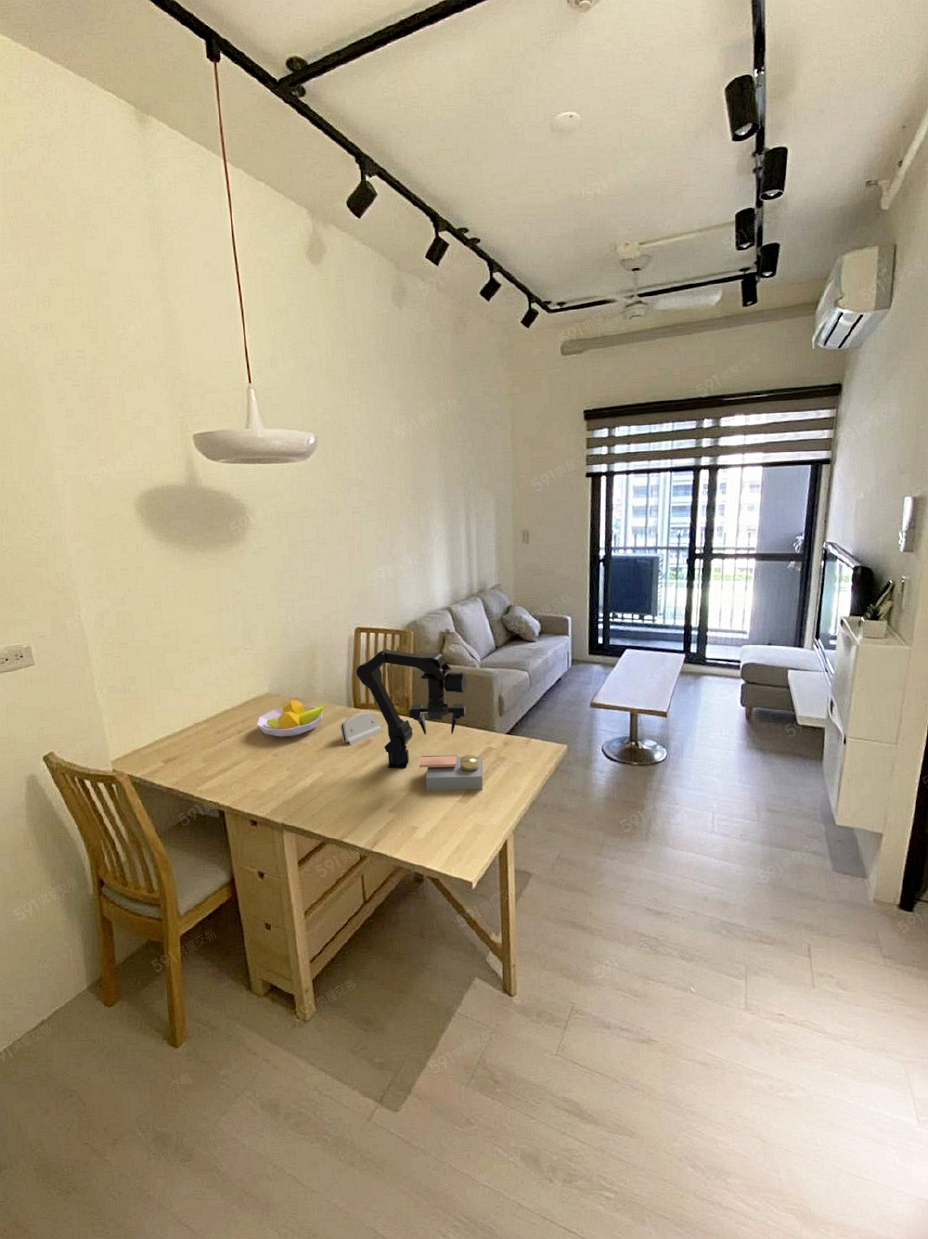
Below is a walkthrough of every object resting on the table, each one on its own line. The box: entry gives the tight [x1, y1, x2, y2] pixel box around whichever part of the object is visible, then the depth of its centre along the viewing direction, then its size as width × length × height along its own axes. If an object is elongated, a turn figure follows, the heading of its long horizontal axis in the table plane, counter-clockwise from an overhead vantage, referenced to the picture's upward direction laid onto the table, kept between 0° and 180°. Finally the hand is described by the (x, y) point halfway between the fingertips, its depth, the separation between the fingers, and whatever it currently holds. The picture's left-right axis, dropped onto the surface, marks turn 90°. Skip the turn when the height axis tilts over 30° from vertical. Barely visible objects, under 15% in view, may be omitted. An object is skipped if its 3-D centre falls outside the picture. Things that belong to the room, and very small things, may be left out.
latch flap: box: [418, 754, 458, 768], centre depth 185 cm, size 12×1×9 cm
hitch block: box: [425, 755, 483, 791], centre depth 184 cm, size 18×14×4 cm
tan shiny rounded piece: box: [460, 754, 479, 772], centre depth 182 cm, size 6×6×7 cm
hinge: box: [339, 712, 383, 746], centre depth 221 cm, size 17×5×10 cm, turn 138°
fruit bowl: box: [256, 699, 327, 737], centre depth 230 cm, size 28×27×11 cm
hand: (438, 734), depth 189 cm, fingers open, 9 cm apart
